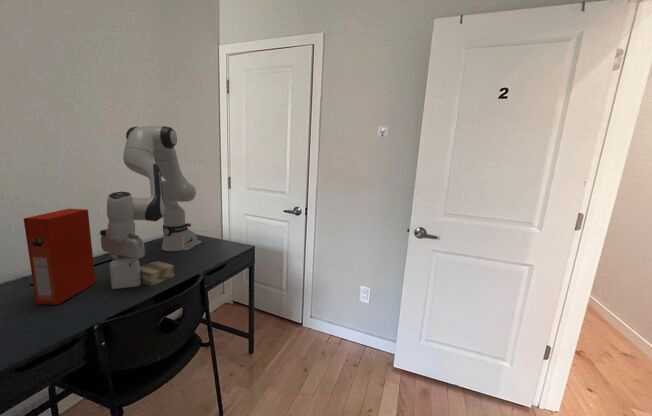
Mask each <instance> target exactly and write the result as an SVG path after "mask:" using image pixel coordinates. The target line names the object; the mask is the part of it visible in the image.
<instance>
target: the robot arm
mask: <svg viewBox="0 0 652 416" xmlns="http://www.w3.org/2000/svg"><path fill="white" fill-rule="evenodd" d="M125 138H126V142H125V146H124V150H123V159H122V160H123V163H124V164H125V166H126V167H127V168H128V169H129V170H131V171H132V172H134V173H136V174H138V175H140V176H144V177H146V178H148V180H149V186H150V197H133V196H132V193H130V192H127V191H116V192H112V193H110V194H108V196H107V199H106V216H107V219H108V223H107V228H104V229H101V230H99V236H100V246H101V250H102V251H103V252H105V253H108V254H109V256H110V258H111V260H112V261H114V260H117V259H120V257H118V256H117V255H119V256H122V257H125V258H130V260H131V263H129V267H132V268H133V267H135V266H136V261H137V259H138V260H139V259H141V258H143V257H145V255H146V250H145V244H144V240H143V239H142V238H141V237H140V236H139V234H136V223H135V221H147V222H148V221H149V222H157V221H159V220H161V219H162V218H163V224H162V231H163V237H162V243H161V250H162V251H164V252H165V251H166V252H179V251H189V250H191V249H193V248H195V247H196V245H197V246H198V244H199V245H201V244H202V241H201V240H200V239H198V236H197V233H196V232H194V231H192V230H191V229H189V228H191V226H192V223H188V222H187V223H186V212H185V209H184V208H183V207H181V206H180V204H179V202H180V203H184V202H185V203H186V202H192V201H193V200H194V199H195V198H196V195H197V190H196V188H195V186H194V185H193V184H191V183H190V182H189V181H188V180H187V179H186V177H185V176H184V175H183V173H182V170H181V168H180V164H179V159H178V155H177V151H176V148H175V146H176V145H177V142H178V136H177V133H176V131H175V130H174V128H172V127H170V126H166V125H165V126H164V125H163V126H160V125H149V126H148V125H147V126H146V125H144V126H133V127H129V128H128V130H127V131H126V132H125ZM162 179H164V180H162ZM194 246H195V247H194Z"/></svg>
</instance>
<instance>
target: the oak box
mask: <svg viewBox="0 0 652 416" xmlns="http://www.w3.org/2000/svg"><path fill="white" fill-rule="evenodd" d="M139 266H140V278H141V284H143V285H147V286H150V287H153V286H156V285H158V284H159V283H163V282H165V281H167V280H170V279H172V278H174V277H175V265H174V264H170V263H166V262H164V261H160V260H156V261H151V262H149V263H146V264H143V265H139Z"/></svg>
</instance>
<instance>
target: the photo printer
mask: <svg viewBox="0 0 652 416" xmlns="http://www.w3.org/2000/svg"><path fill="white" fill-rule="evenodd" d="M129 263H131V260H130V257H123V258H119V259H117V260H114V261H110V262H109V274H110V283H111V284H110V285H111V289H112V290H115V289H116V290H117V289H124V288H125V289H127V288H136V287H139V286H141V284H142V283H141V278H140V266H141V265H140V260H139V259H137V261H136V266H135V267H133V268H132V267H129Z"/></svg>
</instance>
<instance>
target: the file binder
mask: <svg viewBox="0 0 652 416" xmlns="http://www.w3.org/2000/svg"><path fill="white" fill-rule="evenodd" d="M23 223H24V231H25V239H26V244H27V250H28V258H29V264H30V271H31V276H32V284H33V291H34V296H35V297H34V298H35V304H36V305H54V306H57V305H60V304H61V303H63V302H64V301H66V300H68V299H70V298H72V297H74V296H75V295H77V294H79V293H80V292H82V291H84V290H86V289H87V288H89V287H91V286H92V285H94V284H96V275H95V273H96V272H95V265H94V255H93V254H94V253H93V247H92V246H93V245H92V238H91V237H92V236H91V228H90V227H91V225H90V215H89V209H83V208H66V209H61V210H56V211H52V212H48V213H47V212H46V213H43V214H37V215H33V216H29V217H24V218H23Z"/></svg>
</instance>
